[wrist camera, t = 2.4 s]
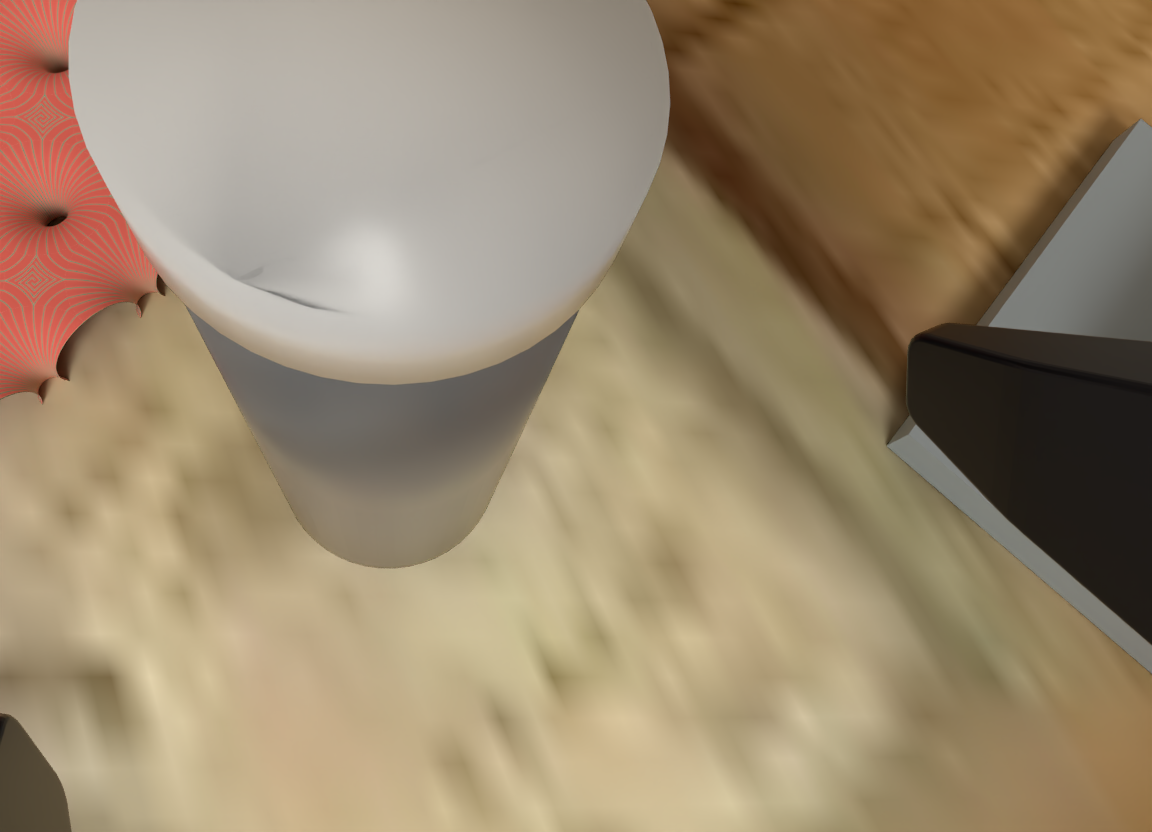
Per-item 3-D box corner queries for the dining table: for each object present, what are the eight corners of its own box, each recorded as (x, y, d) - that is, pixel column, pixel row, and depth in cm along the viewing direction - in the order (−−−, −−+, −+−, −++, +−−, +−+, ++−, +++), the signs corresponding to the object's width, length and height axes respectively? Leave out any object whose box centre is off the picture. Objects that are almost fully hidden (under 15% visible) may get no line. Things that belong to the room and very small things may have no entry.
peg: (395, 621, 19) (398, 459, 6) (227, 468, 19) (-77, 34, 7) (545, 457, 20) (776, 77, 8) (387, 318, 20) (378, -255, 8)
